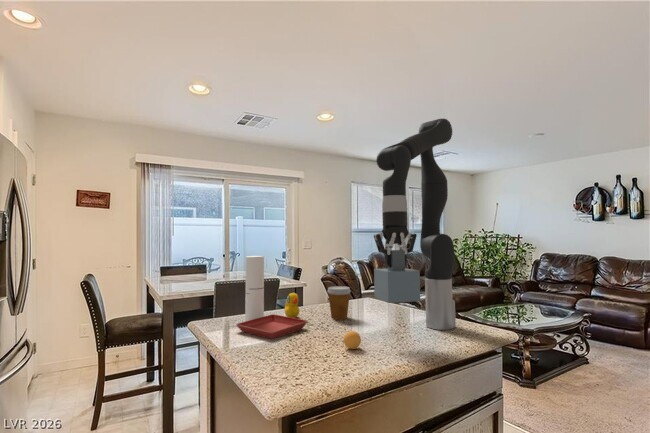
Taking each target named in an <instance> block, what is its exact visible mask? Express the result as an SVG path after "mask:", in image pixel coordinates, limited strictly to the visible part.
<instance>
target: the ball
mask: <svg viewBox="0 0 650 433" xmlns="http://www.w3.org/2000/svg"><path fill="white" fill-rule="evenodd" d="M361 341H362V338H361V336H360V334H359V333H358V332H357V331H354V330H350V331H347V332H346V333H345V334H344V336H343V343H344V345H345V347H346V348H348V350H349V349H350V350H356V349H358V348H359V347H360V345H361Z"/></svg>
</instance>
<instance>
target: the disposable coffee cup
mask: <svg viewBox="0 0 650 433" xmlns="http://www.w3.org/2000/svg"><path fill="white" fill-rule="evenodd" d="M350 288H351V287H349V286H342V285H341V286H340V285H336V286H335V285H334V286H329V287H328V288H327V291H326V292H327V294H328V301H329V302H328V303H329V307H330V309H329V310H330V316H331V319H333V320H336V321H337V320H341V321H342V320H346V319H347V318H348V313H349V305H350V304H349V303H350V294H351V292H352V290H351V289H350Z"/></svg>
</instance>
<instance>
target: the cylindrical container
mask: <svg viewBox="0 0 650 433" xmlns="http://www.w3.org/2000/svg"><path fill="white" fill-rule="evenodd" d="M264 296H265V255H250V256H249V255H248V256H245V300H244V303H245V308H244V309H245V310H244V312H245V314H244V316H245V319H244V320H246V321H249V320H253V319H257V318H261V317H264V316H265V297H264ZM246 321H245V322H246Z"/></svg>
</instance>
